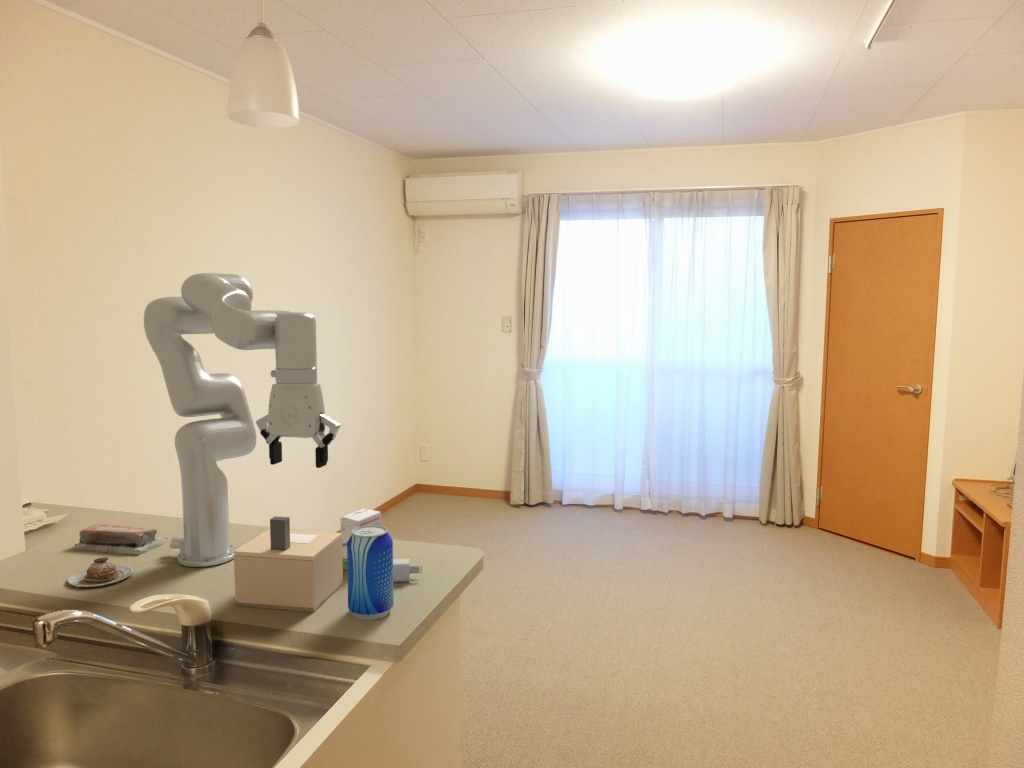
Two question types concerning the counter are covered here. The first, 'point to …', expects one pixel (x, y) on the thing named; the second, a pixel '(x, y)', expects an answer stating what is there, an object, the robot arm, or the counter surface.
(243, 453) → the robot arm
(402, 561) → the usb wall charger
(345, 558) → the ink box
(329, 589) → the carton
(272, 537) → the tan labeled panel
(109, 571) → the pastry
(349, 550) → the beer can
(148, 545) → the packaged product
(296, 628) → the counter surface
